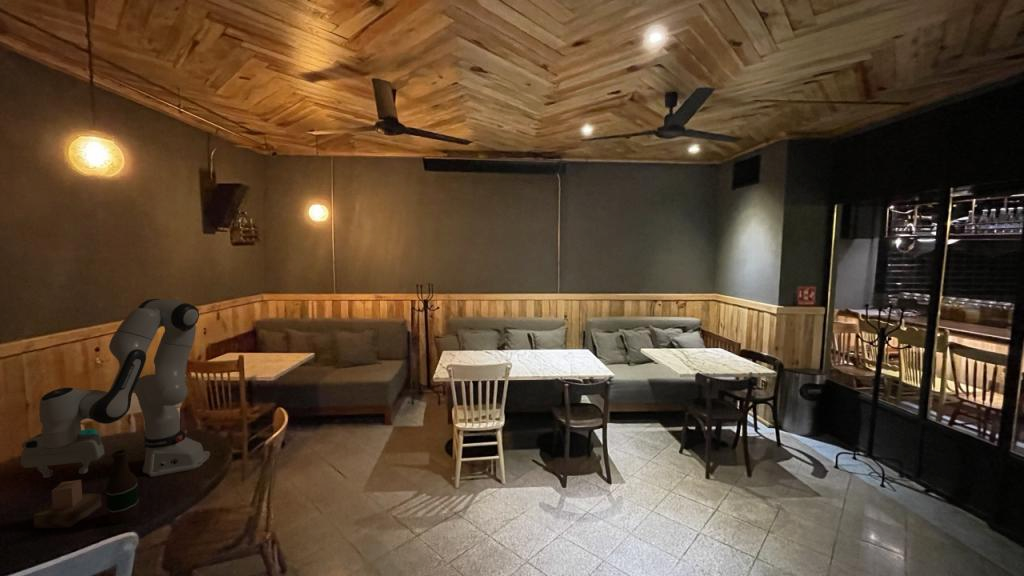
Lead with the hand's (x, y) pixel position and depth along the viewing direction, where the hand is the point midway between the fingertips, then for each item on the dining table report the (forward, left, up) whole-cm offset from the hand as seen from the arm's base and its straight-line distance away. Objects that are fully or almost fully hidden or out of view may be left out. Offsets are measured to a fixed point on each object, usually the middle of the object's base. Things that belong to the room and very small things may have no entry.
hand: (66, 474), depth 135 cm
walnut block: (0, 0, -16) cm, 16 cm away
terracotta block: (0, 0, -11) cm, 11 cm away
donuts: (+24, -48, -16) cm, 56 cm away
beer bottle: (-18, +5, -15) cm, 24 cm away
